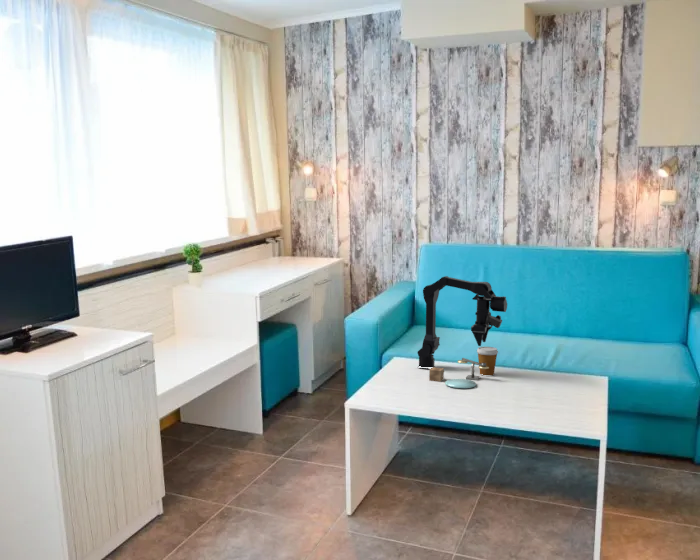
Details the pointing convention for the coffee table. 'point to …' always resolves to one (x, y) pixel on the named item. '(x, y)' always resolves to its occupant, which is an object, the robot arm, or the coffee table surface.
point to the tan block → (436, 374)
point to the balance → (472, 376)
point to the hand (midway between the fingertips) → (481, 344)
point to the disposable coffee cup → (487, 359)
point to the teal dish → (460, 383)
